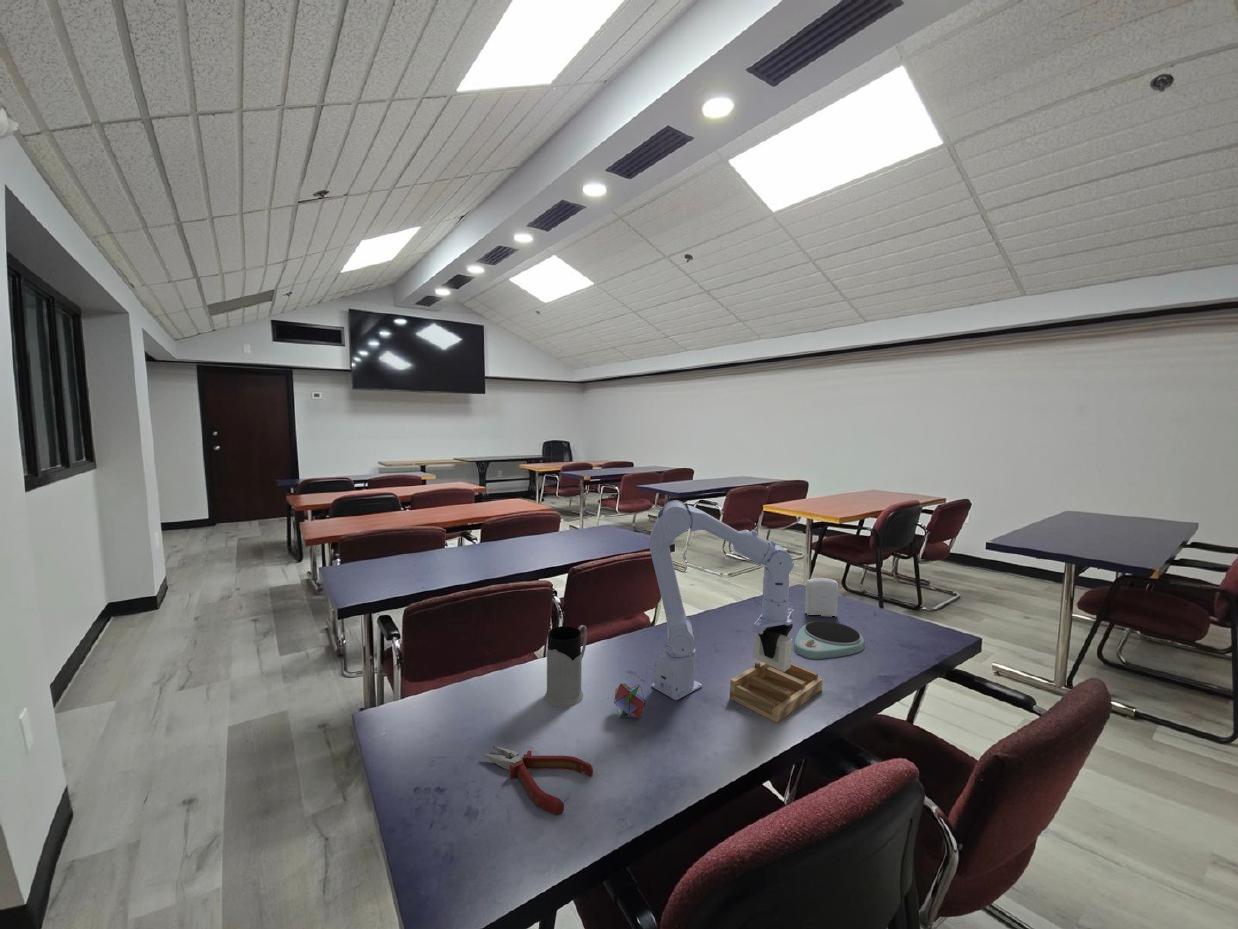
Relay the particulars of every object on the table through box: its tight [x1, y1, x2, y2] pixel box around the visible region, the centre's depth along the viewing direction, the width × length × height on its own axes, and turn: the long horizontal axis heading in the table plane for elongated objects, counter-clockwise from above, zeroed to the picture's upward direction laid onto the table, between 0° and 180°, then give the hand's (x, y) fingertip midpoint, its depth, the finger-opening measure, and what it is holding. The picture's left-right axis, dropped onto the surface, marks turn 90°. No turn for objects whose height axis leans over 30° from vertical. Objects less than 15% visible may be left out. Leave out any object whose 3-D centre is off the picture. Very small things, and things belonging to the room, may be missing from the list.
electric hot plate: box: [793, 620, 866, 660], centre depth 142 cm, size 18×4×25 cm
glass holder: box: [544, 624, 588, 709], centre depth 114 cm, size 9×14×15 cm, turn 154°
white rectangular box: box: [752, 632, 793, 672], centre depth 115 cm, size 3×8×7 cm, turn 42°
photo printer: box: [804, 577, 839, 617], centre depth 162 cm, size 10×4×12 cm, turn 85°
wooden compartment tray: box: [729, 661, 824, 723], centre depth 114 cm, size 20×12×5 cm, turn 132°
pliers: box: [482, 745, 594, 816], centre depth 88 cm, size 12×20×3 cm, turn 62°
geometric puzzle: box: [612, 683, 647, 720], centre depth 105 cm, size 7×7×8 cm
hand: (772, 654), depth 115 cm, fingers closed on white rectangular box, 3 cm apart
